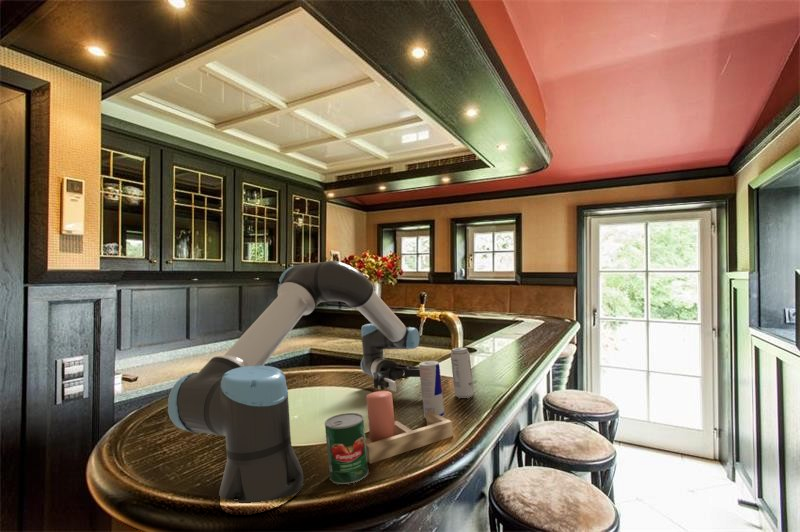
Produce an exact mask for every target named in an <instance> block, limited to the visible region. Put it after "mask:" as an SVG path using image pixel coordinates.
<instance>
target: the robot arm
mask: <svg viewBox="0 0 800 532" xmlns="http://www.w3.org/2000/svg"><path fill="white" fill-rule="evenodd" d="M278 281H279V284H277V297H276V298H275V299H274V300H273V301H272V302H271V303H270V305H268V306H267V308H266V309H265V310H264V311H263V312H262V313H261V314H260V315H259V317H258V318H257V319H256V320H255V321H254V322H253V323H252V324H251V325H250V326H249V327H248V328H247V329H246V330H245V332H244V333H243V334H242V335H241V336H240V337H239V338H238V339H237V341H236V342H235V343H234V344H233V345H232V346H231V347H230V348H229V349H228V350H227V351H226V353H225V354H224V355H216V356H213V357H212V358H211V359H210V360H209V361H208V362H207V363H206V364H205V365H204V366H203V367H202V368H201V369H200V370H199V372H191V373H188V374H186V375H184V376H182V377H181V378H180V379H178V380H177V381H176V382H175V384H174V385H173V387H172V388H171V390H170V393H169V395H168V400H167V402H168V403H167V405H168V406H167V413H168V416H169V419H170V421H171V422H172V423H173V425H174V426H175V427H177V428H179V429H180V430H184V431H187V432H189V433H191V434H192V433H193V434H207V435H214V436H215V435H216V436H222V437H223V436H224V437H225V448H226V463H225V467H224V471H223V474H222V475H223V476H222V480H221V484H220V488H219V491H218V492H219V493H218V497H219V496H220V497H221V498H224V499H228V500H232V501H235V502H239V503H251V502H261V501H266V500H273V499H279V498H284V497H287V496H291V495H293V494H295V493H297V492H298V491H299V490H300V489H301V487H302V485H303V486H304V484H303V481H304V471H303V468H302V465H301V464H300V461H299V459H298V457H297V453H296V452H295V449H294V447H293V445H292V437H291V425H290V424H291V422H290V407H289V405H290V404H289V391H288V389H289V388H288V386H287V379H286V375H285V374H284V372H283V371H282V369H280V368H278V367H275V366H271V365H270V366H269V365H265V364H266V363H267V362H268V361H269V359H270V358H271V357H272V356H273V354H274V353H275V352H276V350H277V349H278V347H280V346H281V344H282V342H284V340H285V339H286V337H287V336H288V335H289V334H290V332H291V331H292V330H293V328H294V327H295V326H296V325H297V323H298V322H299V321H300V320H301V318H302V317H303V316H308V315H310V314H311V313H313V312H314V310H315V309H316V308H317V307H318V305H319V304H320V303H329V302H341V303H342V302H343V303H345V304H346V305H347V306H348V307H350V308H352V309H356V310H357V311H358V312H359V313H361V315H363V316H364V318H365V319H367V320H368V322H370V323H366V324H364V325H362V326H361V332H360V333H361V337H360V338H361V345H362V353H363V355H362V359H361V360H360V369H361V371H362V372H363V373H364V374H365V375H366V376H369V377H372V378H373V380H372V382H373V388H374V389H378V387H379V388H380V391H384V390H385V388H386V389H388V390H390V391H392V392H397V391H398V390H397V382H396V380H400V379H407V378H420V370H419V366H413V365H406V367H403V366H399V365H398V363H396V362H395V361H394V360H390V359H387V358H384V357H385V356H384V350H415V349H417V348H418V347H419V345H420V340H421V339H420V333H419V331H418V329H417V328H416V327H411V326H408V327H407V326H406V325H405V324H404V323H403V322H402V320H401V319H400V318H399V317H398V316H397V315H396V314H395V313H394V311H392V309H391V308H390V307H389V306H388V305H387V304H386V303H385V301H383V299H382V298H381V297H380V296H379V295H378V294H377V292H375V290H374V289H375V287H374V284H373V283H372V282H371V281H370V279H369V278H367V276H365V275H364V273H362V272H361V271H360V270H358V269H356V268H355V267H353V266H351V265H349V264H347V263H345V262H342V261H339V260H327V261H321V262H316V263H315V262H313V263H309V264H304V263H303V264H297V265H296V264H295V265H294V266H291V267H288V268H287V269H285V270H284V271H283V272H282V273H281V275H280V277H279V280H278ZM302 488H303V487H302ZM301 490H302V489H301ZM234 499H238V500H234Z"/></svg>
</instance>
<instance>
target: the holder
mask: <svg viewBox="0 0 800 532" xmlns="http://www.w3.org/2000/svg"><path fill="white" fill-rule="evenodd" d="M426 418H427V419H426ZM426 418H425V419H426V424H427V425H426V426H423V427H420V428H419V427H418V428H416V429H413V430H412V429H411V428H409V427H408V426H406V425H404V424H402V422H400V421H398V420H394V421H395V432H396V436H393V437H389V438H386V439H383V440H379V441H376V442H373V443H372V442H371V441H370V438H367V436H365V441H366V452H367V461H368V463H369V464H374V463H377V462H379V461H382V460H385V459H389V458H392V457H394V456H398V455H400V454H403V453H406V452H410V451H412V450H415V449H419V448H422V447H426V446H428V445H430V444H434V443H436V442H440V441H442V440H445V439H446V440H447V439H449V438H451V437H454V432H453V423H452V420H450V419H448V418H447V417H442V416H440V415H438V414H436V413H434V412H432V411H429V412H426Z"/></svg>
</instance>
